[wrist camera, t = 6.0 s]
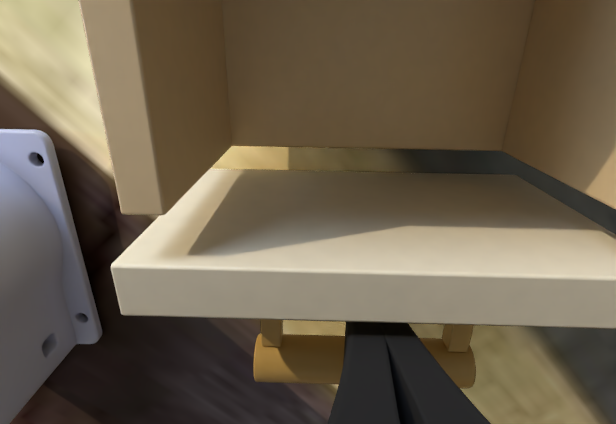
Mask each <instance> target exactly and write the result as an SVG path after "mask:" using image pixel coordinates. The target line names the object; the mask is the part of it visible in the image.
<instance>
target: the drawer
mask: <svg viewBox="0 0 616 424" xmlns="http://www.w3.org/2000/svg"><path fill="white" fill-rule="evenodd" d="M78 1H79V6H80V11H81V16H82V21H83V26H84V31H85V35H86V40H87V45H88V50H89V55H90V60H91V65H92V70H93V75H94V80H95V85H96V90H97V95H98V99H99V104H100V109H101V114H102V119H103V124H104V129H105V134H106V139H107V144H108V149H109V154H110V159H111V163H112V168H113V173H114V178H115V183H116V188H117V193H118V198H119V203H120V208H121V212H122V214H124V215H160V216H159V217H158V218H157V219H156V220H155V221H154V222H153V223H152V224H151V225H150V226H149V227H148V228H147V229H146V230H145V231H144V232H143V233H142V234H141V235H140V236H139V237H138V238H137V239H136V240H135V241H134V242H133V243H132V244H131V245H130V246H129V247H128V248H127V249H126V250H125V251H124V252H123V253H122V254H121V255H120V256H119V257H118V258H117V259H116V260H115V261H114V262H113V263H112V264H111V272H112V276H113V280H114V285H115V289H116V293H117V298H118V302H119V306H120V311H121V314H122V315H126V316H163V317H200V318H236V319H260V327H261V334H259V335H258V337H257V339H256V344H255V351H254V367H253V369H254V379H255V381H256V382H277V383H310V384H339V382H340V378H341V373H342V369H343V359H344V345H345V336H329V335H293V334H283V320H309V321H346V322H382V323H419V324H445V325H444V330H443V335H442V339H436V338H419V339H420V340H421V342H422V343H423V344H424V346H425V347H426V348H427V349H428V351H429V352H430V353H431V355H432V356H433V357H434V358H435V360H436V361H437V362H438V363H439V365H440V366H441V367H442V368H443V370H444V371H445V372H446V373H447V374H448V376H449V377H450V378H451V379H452V380H453V381H454V383H455V384H456V385H457V386H458V387H459V388H470V387H472V386H473V384H474V382H475V376H476V367H475V360H474V355H473V352H472V349H471V347H470V345H469V343H470V339H471V335H472V331H473V327H474V325H492V326H529V327H565V328H602V329H616V235H615V234H614V233H612V232H610V231H609V230H607V229H605V228H604V227H602V226H600V225H599V224H597V223H595V222H594V221H592V220H590V219H589V218H587V217H585V216H584V215H582V214H580V213H579V212H577V211H575V210H574V209H572V208H570V207H569V206H567V205H565V204H563V203H562V202H560V201H558V200H557V199H555V198H553V197H552V196H550V195H548V194H547V193H545V192H543V191H542V190H540V189H538V188H537V187H535V186H533V185H532V184H530V183H528V182H527V181H525V180H523V179H522V178H520V177H518V176H517V175H500V174H451V173H401V172H352V171H303V170H254V169H210V168H211V167H212V166H213V165H214V164H215V163H216V162H217V161H218V160H219V158H220V157H221V156H222V155H223V154H224V153H225V152H226V151H227V150H228V149H229V148H230V147H231V146H268V147H320V148H372V149H424V150H476V151H503V152H504V153H506V154H508V155H510V156H512V157H514V158H516V159H518V160H520V161H522V162H524V163H526V164H528V165H530V166H532V167H534V168H536V169H538V170H540V171H541V172H543V173H545V174H547V175H549V176H551V177H553V178H555V179H557V180H559V181H561V182H563V183H565V184H567V185H569V186H571V187H573V188H575V189H577V190H579V191H580V192H582V193H584V194H586V195H588V196H590V197H592V198H594V199H596V200H598V201H600V202H602V203H604V204H606V205H608V206H610V207H612V208H614V209H616V0H78Z"/></svg>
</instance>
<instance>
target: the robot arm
mask: <svg viewBox="0 0 616 424" xmlns="http://www.w3.org/2000/svg"><path fill="white" fill-rule="evenodd" d="M37 153H39V154H40V155H41V156H42V157H43V159H44V163H42V162H40V161H39V159H38V158H37ZM82 313H83V314H85V315H86V316H87V317H86V316H84V315H83V314H82ZM101 336H102V328H101V324H100V320H99V316H98V313H97V309H96V305H95V301H94V297H93V294H92V290H91V286H90V282H89V278H88V274H87V271H86V267H85V263H84V259H83V255H82V252H81V248H80V244H79V240H78V236H77V232H76V229H75V225H74V221H73V217H72V213H71V210H70V206H69V202H68V198H67V194H66V190H65V187H64V183H63V179H62V175H61V171H60V168H59V164H58V160H57V156H56V152H55V148H54V145H53V142H52V140H51V138H50V137H49V136H48V135H47V134H46V133H44V132H42V131H40V130H26V129H0V424H9V423H10V422H11V421H12V420H13V419H14V417H15V416H16V415H17V414H18V413H19V411H20V410H21V409H22V408H23V407H24V405H25V404H26V403H27V402H28V401H29V400H30V398H31V397H32V396H33V395H34V394H35V392H36V391H37V390H38V389H39V388H40V386H41V385H42V384H43V383H44V382H45V380H46V379H47V378H48V377H49V376H50V375H51V373H52V372H53V371H54V370H55V369H56V367H57V366H58V365H59V364H60V363H61V361H62V360H63V359H64V358H65V357H66V355H67V354H68V353H69V352H70V351H71V350H72V348H73V347H74V346H75V345H76V344H94V343H96V342H97V341H98V340H99V339H100V337H101ZM328 424H491V423H490V422H489V421H488V420H487V419H486V418H485V417H484V416H483V415H482V414H481V413H480V411H479V410H478V409H477V408H476V407H475V406H474V405H473V404H472V402H471V401H470V400H469V399H468V398H467V397H466V396H465V394H464V393H463V392H462V391H461V390H460V389H459V387H458V386H457V385H456V384H455V383H454V381H453V380H452V379H451V378H450V377H449V376H448V374H447V373H446V372H445V371H444V370H443V368H442V367H441V366H440V365H439V363H438V362H437V361H436V360H435V358H434V357H433V356H432V355H431V353H430V352H429V351H428V349H427V348H426V347H425V346H424V344H423V343H422V342H421V340H420V339H419V338H418V336H417V335H416V334H415V332H414V331H413V330H412V328H411V327H410V326H409V324H408V323H382V322H346V330H345V345H344V359H343V369H342V373H341V378H340V382H339V386H338V390H337V394H336V397H335V401H334V404H333V407H332V411H331V414H330V417H329V420H328Z"/></svg>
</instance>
